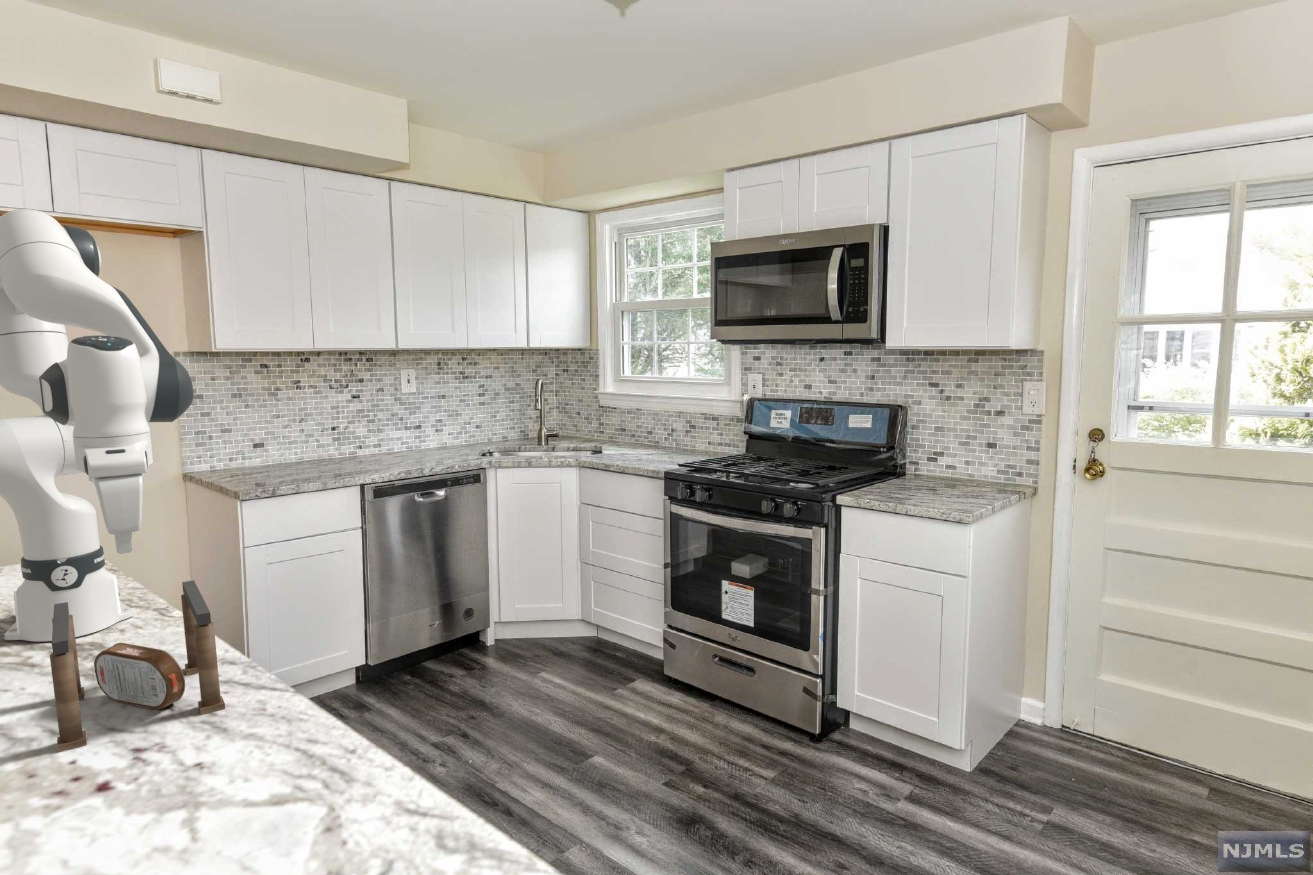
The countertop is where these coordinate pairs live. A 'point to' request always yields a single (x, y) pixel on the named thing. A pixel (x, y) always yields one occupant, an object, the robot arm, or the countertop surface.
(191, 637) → the wooden stanchion pair
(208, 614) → the dark grey beam
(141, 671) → the tin
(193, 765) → the countertop surface
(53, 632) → the grey bar
